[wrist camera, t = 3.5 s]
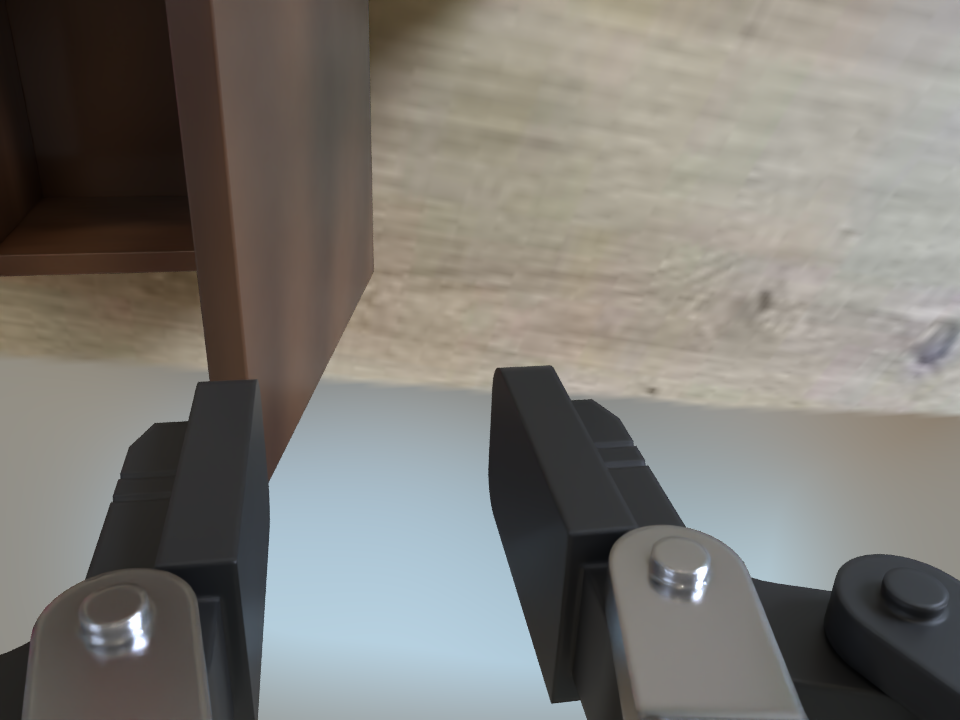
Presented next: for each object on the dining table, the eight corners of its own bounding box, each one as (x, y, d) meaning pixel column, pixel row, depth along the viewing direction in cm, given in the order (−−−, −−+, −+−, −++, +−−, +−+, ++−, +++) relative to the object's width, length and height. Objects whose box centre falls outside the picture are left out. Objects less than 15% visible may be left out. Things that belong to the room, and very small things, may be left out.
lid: (222, 500, 20) (259, 503, 20) (154, -75, 14) (204, -72, 14) (351, 270, 32) (374, 272, 32) (340, -78, 27) (367, -77, 27)
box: (32, 210, 37) (-29, 277, 31) (-30, -95, 32) (-120, -96, 25) (352, 205, 40) (361, 267, 33) (344, -80, 34) (353, -77, 28)
